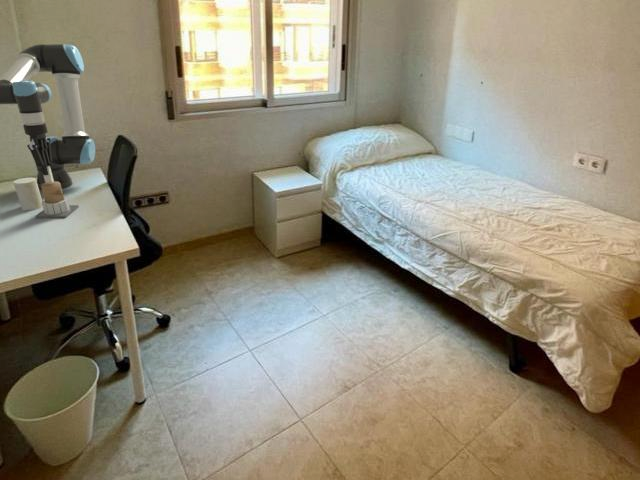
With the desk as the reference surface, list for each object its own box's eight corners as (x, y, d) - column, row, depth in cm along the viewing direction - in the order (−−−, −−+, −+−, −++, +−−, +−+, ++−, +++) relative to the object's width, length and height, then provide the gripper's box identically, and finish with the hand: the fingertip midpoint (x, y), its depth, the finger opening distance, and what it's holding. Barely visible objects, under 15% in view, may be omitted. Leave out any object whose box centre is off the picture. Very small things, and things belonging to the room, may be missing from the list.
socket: (50, 207, 190) (47, 195, 188) (78, 207, 191) (75, 195, 188) (35, 218, 179) (32, 205, 177) (65, 217, 180) (62, 205, 177)
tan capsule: (52, 206, 187) (46, 181, 182) (69, 206, 188) (63, 181, 183) (44, 212, 181) (37, 187, 176) (61, 212, 181) (55, 186, 177)
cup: (33, 211, 186) (25, 184, 181) (16, 209, 188) (8, 182, 182) (47, 204, 193) (40, 178, 188) (31, 202, 195) (24, 176, 190)
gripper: (33, 120, 174) (48, 177, 185) (14, 126, 163) (31, 187, 173) (52, 120, 175) (66, 177, 185) (35, 126, 163) (51, 186, 173)
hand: (49, 181), depth 179 cm, fingers closed
